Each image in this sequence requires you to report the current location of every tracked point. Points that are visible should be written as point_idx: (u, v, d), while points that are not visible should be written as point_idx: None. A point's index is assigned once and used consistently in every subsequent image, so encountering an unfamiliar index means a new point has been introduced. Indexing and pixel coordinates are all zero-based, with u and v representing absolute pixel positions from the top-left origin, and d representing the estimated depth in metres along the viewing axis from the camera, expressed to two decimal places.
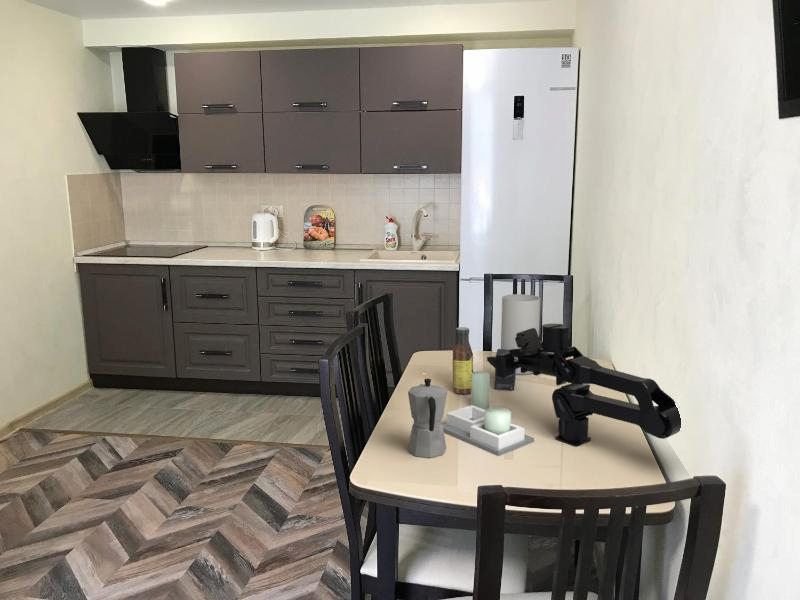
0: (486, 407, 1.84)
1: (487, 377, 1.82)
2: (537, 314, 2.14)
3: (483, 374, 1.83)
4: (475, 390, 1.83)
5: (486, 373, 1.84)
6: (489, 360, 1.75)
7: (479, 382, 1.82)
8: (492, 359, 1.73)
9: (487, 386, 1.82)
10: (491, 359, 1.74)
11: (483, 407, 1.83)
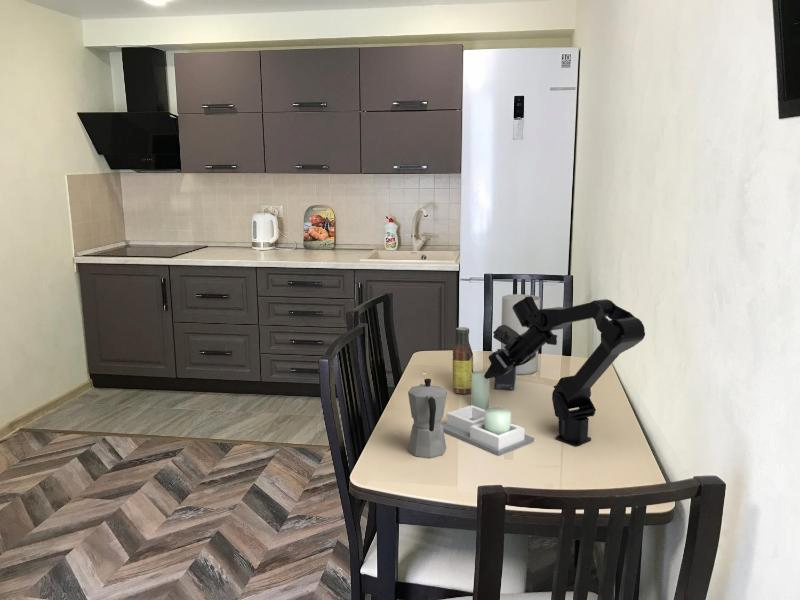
0: (486, 407, 1.84)
1: None
2: None
3: (483, 374, 1.83)
4: (475, 390, 1.83)
5: None
6: (487, 376, 1.77)
7: (479, 382, 1.82)
8: (489, 371, 1.76)
9: (487, 386, 1.82)
10: (488, 372, 1.76)
11: (483, 407, 1.83)
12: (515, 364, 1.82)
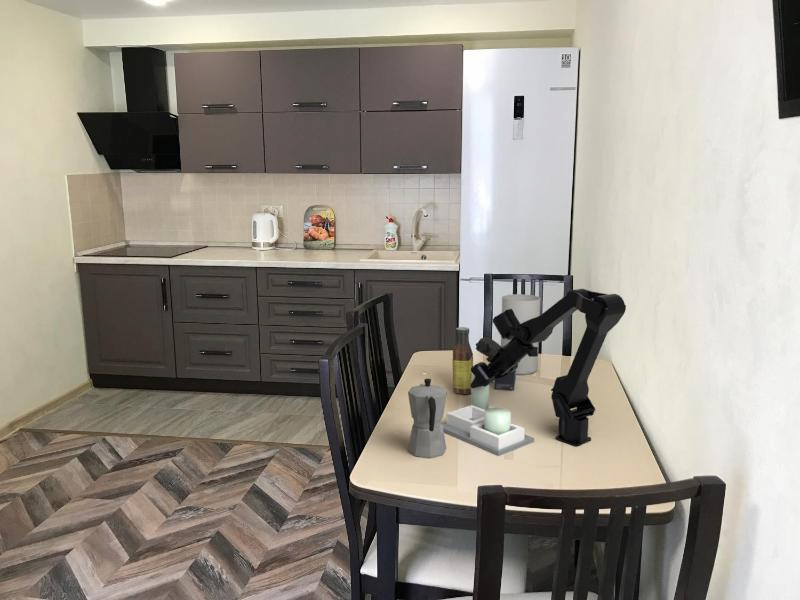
0: (486, 407, 1.84)
1: None
2: (537, 314, 2.14)
3: None
4: (475, 390, 1.83)
5: None
6: (473, 385, 1.82)
7: None
8: (475, 381, 1.81)
9: None
10: (474, 382, 1.81)
11: (483, 407, 1.83)
12: (494, 377, 1.85)
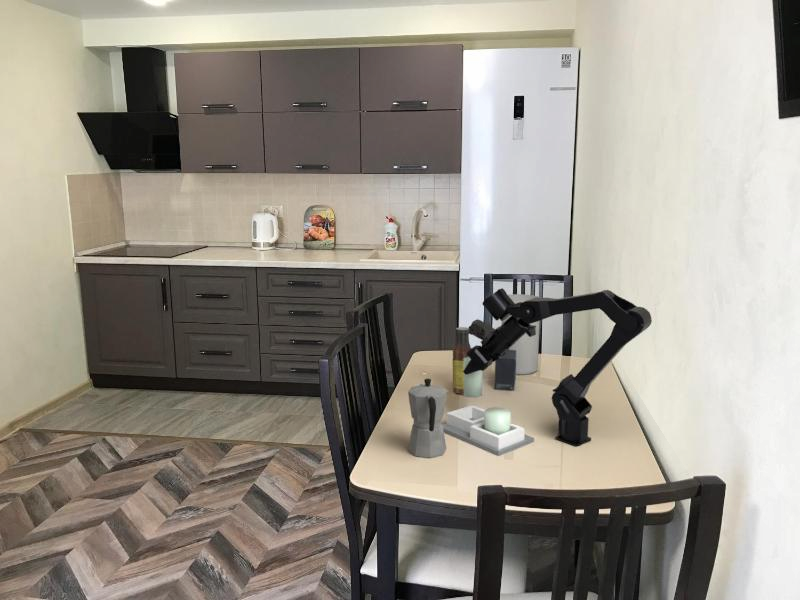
0: (480, 393, 1.75)
1: None
2: None
3: None
4: (469, 376, 1.73)
5: None
6: (466, 371, 1.72)
7: None
8: (468, 366, 1.71)
9: (480, 371, 1.73)
10: (468, 367, 1.72)
11: (477, 393, 1.74)
12: None
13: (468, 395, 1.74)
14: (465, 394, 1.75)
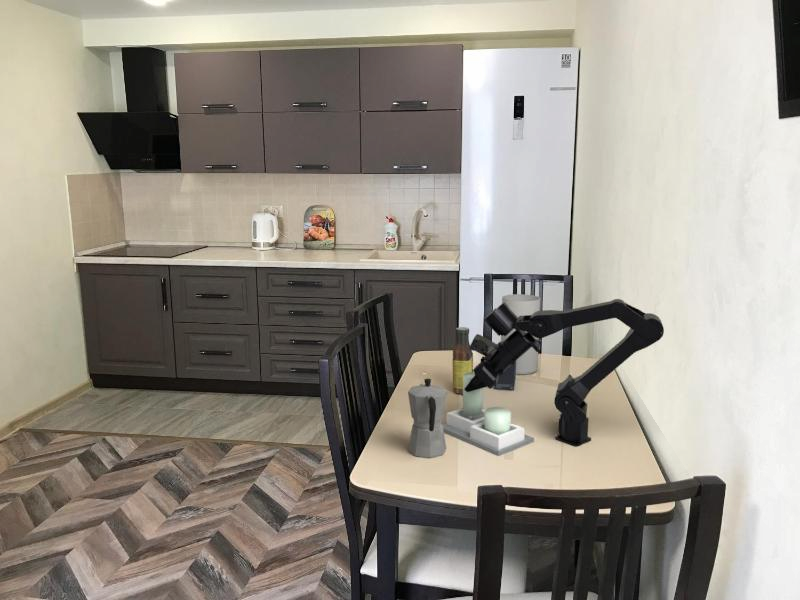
0: (481, 411, 1.68)
1: None
2: None
3: None
4: (470, 393, 1.66)
5: None
6: (468, 389, 1.65)
7: None
8: (471, 384, 1.64)
9: None
10: (470, 385, 1.65)
11: (478, 411, 1.67)
12: None
13: (469, 413, 1.67)
14: (465, 412, 1.68)
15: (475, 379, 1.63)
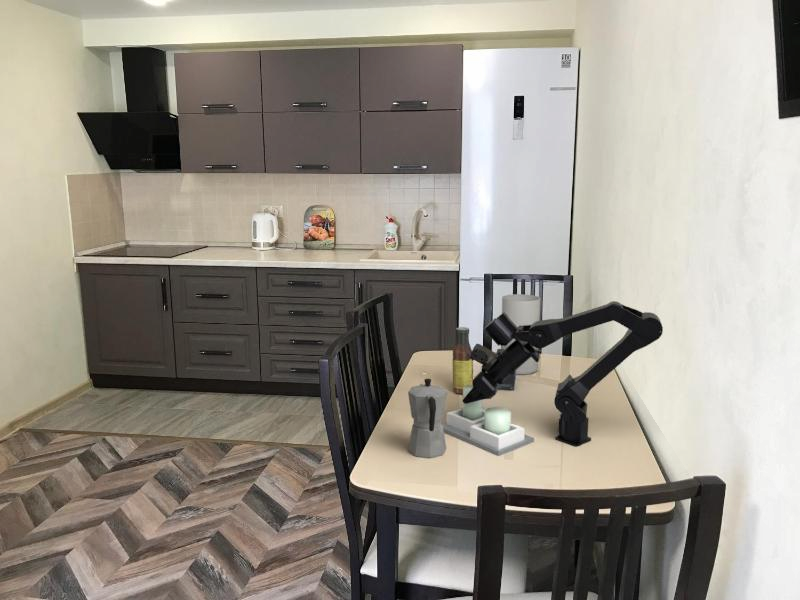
0: None
1: None
2: (537, 314, 2.14)
3: None
4: (470, 406, 1.67)
5: None
6: (466, 401, 1.64)
7: None
8: (469, 395, 1.63)
9: (481, 400, 1.67)
10: (468, 397, 1.63)
11: None
12: None
13: None
14: None
15: (473, 391, 1.62)
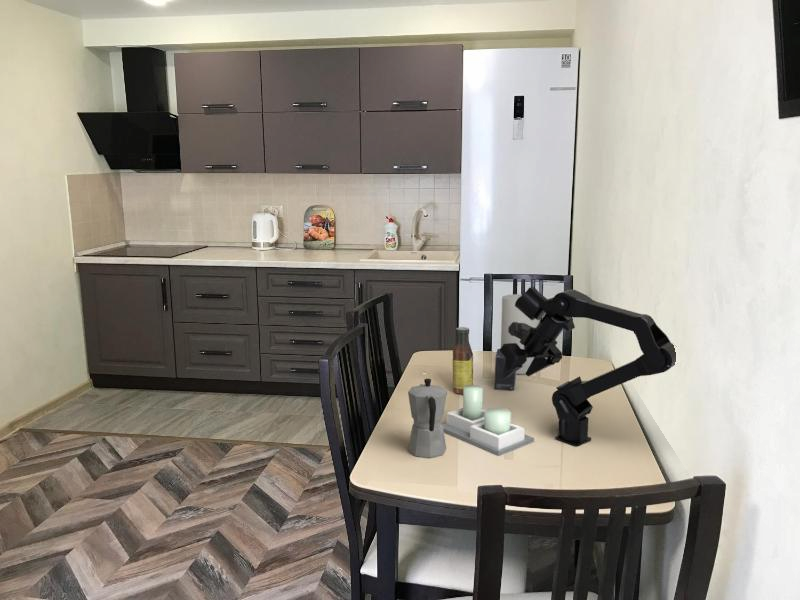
0: None
1: (482, 391, 1.67)
2: None
3: (477, 388, 1.68)
4: (470, 406, 1.67)
5: (478, 386, 1.69)
6: (504, 375, 1.67)
7: (474, 397, 1.66)
8: (505, 369, 1.66)
9: (481, 400, 1.68)
10: (505, 370, 1.66)
11: None
12: (540, 366, 1.71)
13: None
14: None
15: (507, 363, 1.65)
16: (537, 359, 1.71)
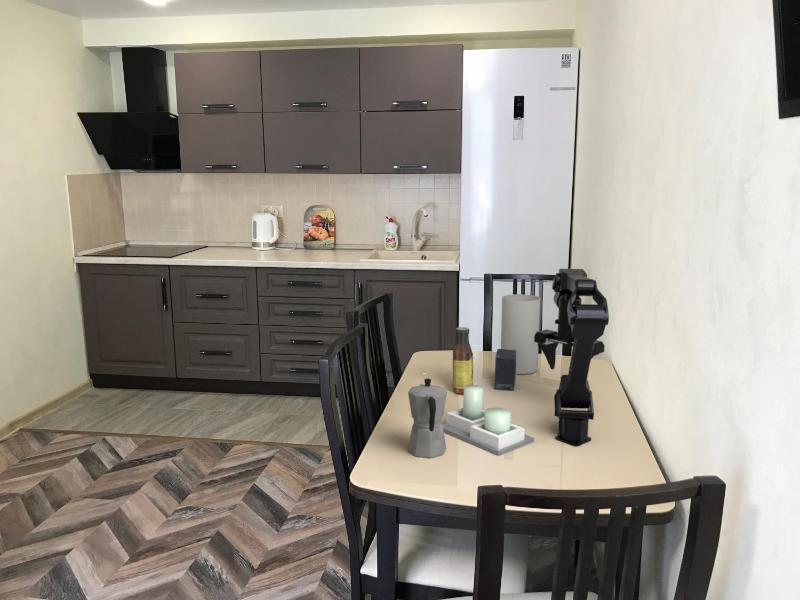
0: None
1: (482, 391, 1.67)
2: (537, 314, 2.14)
3: (477, 388, 1.68)
4: (471, 406, 1.67)
5: (479, 386, 1.69)
6: None
7: (475, 397, 1.66)
8: None
9: (482, 400, 1.68)
10: None
11: None
12: None
13: None
14: None
15: None
16: None
